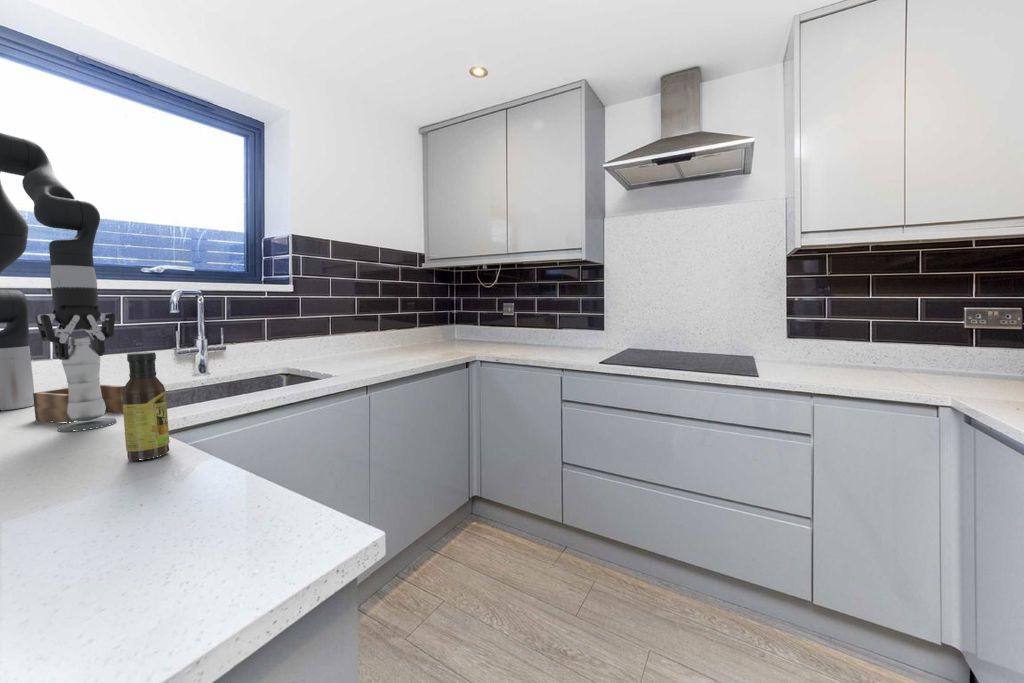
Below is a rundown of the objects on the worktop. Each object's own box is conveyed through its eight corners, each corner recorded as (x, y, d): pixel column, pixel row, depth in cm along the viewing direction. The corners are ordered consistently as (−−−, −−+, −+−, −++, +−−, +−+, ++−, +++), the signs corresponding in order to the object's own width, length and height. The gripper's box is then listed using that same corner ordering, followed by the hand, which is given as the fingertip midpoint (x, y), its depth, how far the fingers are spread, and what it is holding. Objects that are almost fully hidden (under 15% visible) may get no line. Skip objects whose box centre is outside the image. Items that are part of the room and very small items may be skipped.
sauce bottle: (168, 458, 80) (160, 353, 78) (124, 465, 77) (114, 355, 75) (172, 448, 85) (164, 350, 84) (130, 454, 82) (122, 352, 80)
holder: (35, 420, 107) (32, 393, 106) (95, 408, 119) (93, 384, 118) (68, 424, 104) (66, 395, 103) (126, 411, 116) (124, 386, 115)
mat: (46, 430, 99) (46, 427, 99) (98, 418, 108) (98, 416, 108) (76, 433, 96) (75, 430, 96) (126, 421, 106) (126, 419, 105)
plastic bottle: (114, 416, 105) (107, 336, 103) (84, 424, 98) (76, 338, 97) (91, 416, 106) (83, 335, 104) (59, 423, 99) (50, 338, 97)
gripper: (100, 287, 107) (106, 353, 109) (21, 285, 93) (29, 361, 95) (121, 287, 105) (127, 354, 107) (44, 284, 91) (52, 362, 93)
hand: (81, 357), depth 101 cm, fingers closed on plastic bottle, 6 cm apart
